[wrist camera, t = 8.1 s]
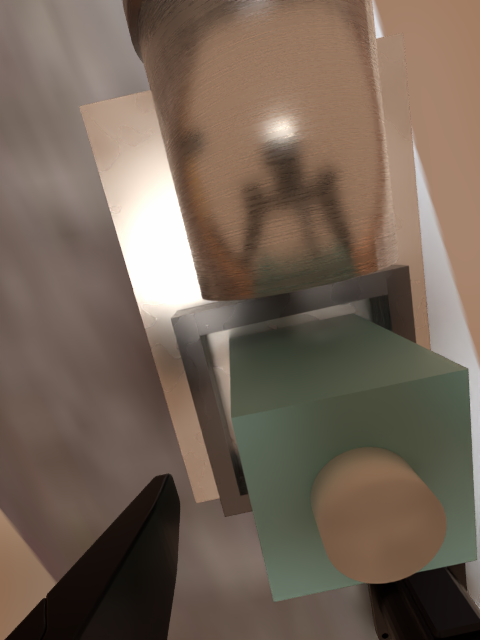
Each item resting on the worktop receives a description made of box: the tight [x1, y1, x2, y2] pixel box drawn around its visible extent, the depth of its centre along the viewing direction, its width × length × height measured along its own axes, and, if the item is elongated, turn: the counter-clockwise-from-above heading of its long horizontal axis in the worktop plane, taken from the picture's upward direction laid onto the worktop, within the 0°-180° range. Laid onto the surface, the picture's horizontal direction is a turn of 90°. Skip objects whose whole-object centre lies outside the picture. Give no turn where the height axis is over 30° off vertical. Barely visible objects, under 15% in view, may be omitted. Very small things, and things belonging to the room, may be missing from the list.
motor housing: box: [79, 0, 431, 517], centre depth 12 cm, size 16×11×11 cm
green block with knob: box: [229, 313, 477, 602], centre depth 9 cm, size 5×5×7 cm
